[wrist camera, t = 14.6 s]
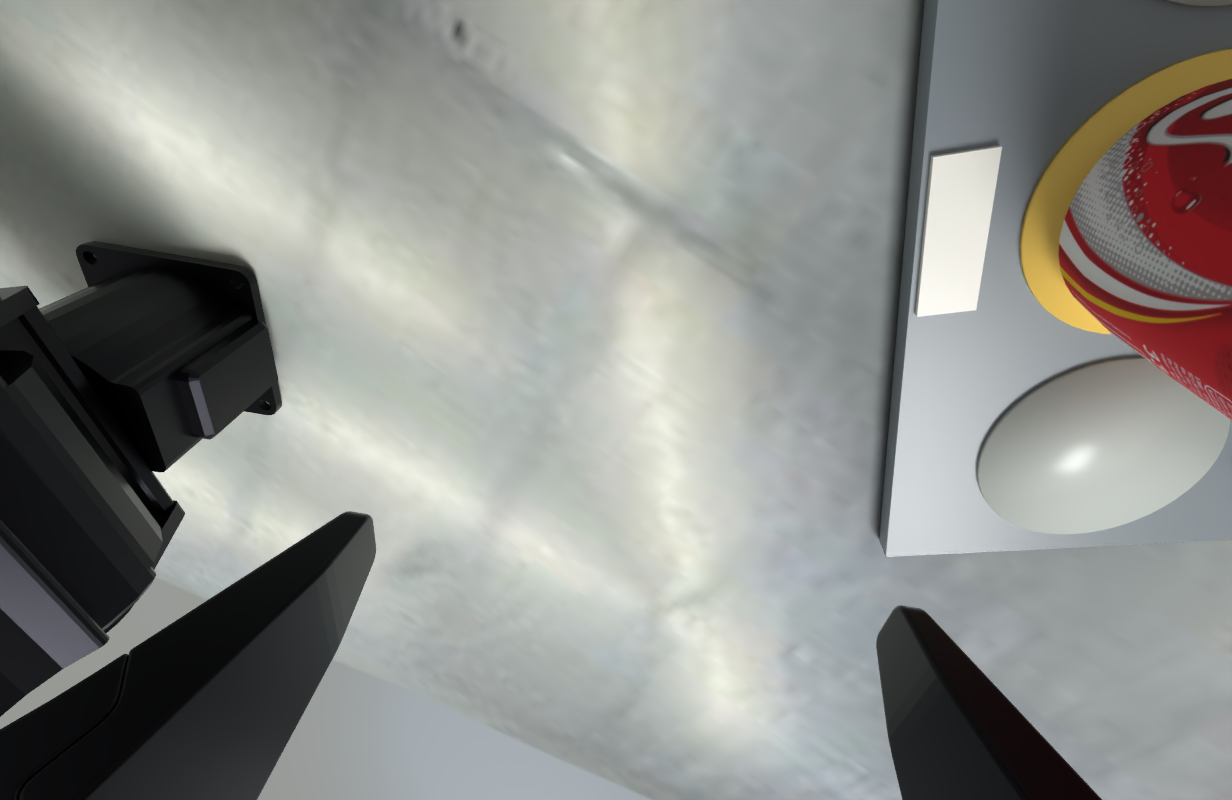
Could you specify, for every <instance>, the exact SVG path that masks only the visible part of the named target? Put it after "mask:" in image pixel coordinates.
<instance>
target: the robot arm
mask: <svg viewBox="0 0 1232 800" xmlns="http://www.w3.org/2000/svg"><path fill="white" fill-rule="evenodd" d="M76 254H77V258H78V260H79V263H80V266H81V268H82V271H83V274H84V276H85V279H86V282H87V284H88V288H85V289H83V290H81V291H79V292H76V293H74V294H72V295H70V296H67V297H65V298H63V299H61V300H58V301H56V302H54V303H51V304H49V305H47V306H45V307H42V308H40V309H38V307H37V305H39V302H38V301H37V299H36V298H35V296H34V295H33V293H32V292H31V291H30V289H29V288H28V286H19V287H10V288H0V717H1V716H2V715H3V714H4V713H5V712H6V711H8V710H9V709H10V708H11V707H12V706H14V705H15V704H16V703H17V702H18V701H19V700H21V699H22V698H23V697H24V696H25V695H27V694H28V693H30V692H31V691H32V690H34V689H35V688H37V687H38V686H39V685H41V684H42V683H44V682H45V681H46V680H48V679H49V678H51V677H52V676H53V675H55V674H56V673H57V672H59V671H61V670H62V669H64V668H65V667H67V666H69V665H71V664H72V663H74V662H76V661H78V660H79V659H81V658H83V657H85V656H86V655H88V654H90V653H91V652H93V651H95V650H97V649H99V648H100V647H102V646H103V645H105V644H106V643H107V642H108V640H109V636H108V635H107V634H106V633H107V632H108V631H109V630H110V629H112V628H113V627H114V626H115V625H116V624H118V623H119V622H120V620H121V619H122V618H123V617H124V616H125V615H126V614H127V613H128V612H129V611H130V610H131V608H132V607H133V605H134V604H135V603H136V602H137V601H138V600H139V598H140V597H141V596H142V595H143V594H144V592H145V591H146V590H147V589H148V587H150V585H151V584H152V582H153V580H154V578H155V576H156V572H155V571H154V569H155V567H156V565H157V564H158V562H159V560H160V558H161V556H162V555H163V553H164V551H165V549H166V547H167V546H168V544H169V542H170V540H171V539H172V537H173V535H174V533H175V531H176V530H177V528H178V526H179V524H180V522H181V521H182V519H183V517H184V515H185V512H184V511H183V509H182V508H181V506H180V505H179V504H178V502H177V501H173V500H172V499H171V498H170V496H169V495H168V493H167V492H166V490H165V489H164V488H163V486H162V485H161V483H160V482H159V480H158V479H157V478H156V476H155V475H154V473H153V472H152V471H155V472H164V471H165V470H167V469H168V468H169V467H170V466H171V465H172V464H174V463H175V462H176V461H177V460H178V459H179V458H181V457H182V456H183V455H184V454H185V453H186V452H187V451H189V450H190V449H191V448H192V447H193V446H194V445H196V444H197V443H198V442H199V441H200V440H201V439H203V438H204V439H212V438H213V437H215V436H216V435H217V434H218V433H219V432H220V431H222V430H223V429H224V428H225V427H226V426H227V425H228V424H230V423H231V422H232V421H233V420H234V419H235V418H236V417H237V416H239V415H240V414H241V413H242V412H243V411H246V412H252V413H258V414H264V415H272V414H275V413H276V412H277V411H278V410H279V409H280V408H281V406H282V401H281V396H280V391H279V386H278V376H277V371H276V367H275V362H274V357H273V352H272V347H271V342H270V337H269V333H268V329H267V327H266V323H265V318H264V313H263V309H262V304H261V299H260V294H259V289H258V284H257V280H256V278H255V276H254V274H253V273H252V272H251V271H250V270H248V269H247V268H245V267H242V266H237V265H231V264H225V263H219V262H213V261H207V260H202V259H196V258H190V257H184V256H178V255H172V254H166V253H160V252H154V251H148V250H142V249H136V248H131V247H125V246H119V245H113V244H107V243H101V242H95V241H92V242H87V243H84V244H82V245H80V246H78V247H77V249H76ZM93 254H94V255H95V257H96V258H97V259H96V258H95V257H94V255H93ZM237 277H239V278H240V279H241V280H242V281H243V283H244V285H243V284H241V283H240V282H239V281H238V279H237ZM265 401H267V402H268V403H269V404H270V405H269V404H268V403H266V402H265ZM375 554H376V543H375V534H374V526H373V520H372V518H371V516H370V515H368V514H363V513H357V512H350V511H349V512H345V513H342V514H341V515H339V516H338V517H336V518H335V519H333V520H331V521H330V522H328V523H327V524H325V525H324V526H322V527H321V528H319V529H317V530H316V531H314V532H313V533H311V534H310V535H308V536H307V537H305V538H304V539H302V540H300V541H299V542H297V543H296V544H294V545H293V546H291V547H290V548H288V549H286V550H285V551H283V552H282V553H280V554H279V555H277V556H276V557H274V558H273V559H271V560H269V561H268V562H266V563H265V564H263V565H262V566H260V567H259V568H257V569H255V570H254V571H252V572H251V573H249V574H248V575H246V576H245V577H243V578H242V579H240V580H238V581H237V582H235V583H234V584H232V585H231V586H229V587H228V588H226V589H224V590H223V591H221V592H220V593H218V594H217V595H215V596H214V597H212V598H211V599H209V600H207V601H206V602H204V603H203V604H201V605H200V606H198V607H197V608H195V609H193V610H192V611H190V612H189V613H187V614H186V615H184V616H183V617H181V618H179V619H178V620H176V621H175V622H173V623H172V624H170V625H169V626H167V627H166V628H164V629H162V630H161V631H159V632H158V633H156V634H155V635H153V636H152V637H150V638H148V639H147V640H146V641H144V642H142V643H141V644H139V645H138V646H136V647H135V648H133V649H132V650H131V651H130V652H129V655H128V654H124V655H122V656H120V657H119V658H117V659H116V660H114V661H113V662H111V663H109V664H108V665H106V666H105V667H103V668H102V669H100V670H99V671H97V672H95V673H94V674H92V675H91V676H89V677H87V678H86V679H84V680H83V681H81V682H79V683H78V684H76V685H75V686H73V687H71V688H70V689H68V690H66V691H65V692H63V693H62V694H60V695H58V696H57V697H55V698H54V699H52V700H50V701H49V702H47V703H45V704H43V705H42V706H40V707H38V708H37V709H35V710H33V711H31V712H30V713H28V714H26V715H24V716H23V717H21V718H19V719H17V720H16V721H14V722H12V723H11V724H9V725H7V726H5V727H4V728H2V729H0V800H257V798H258V796H259V795H260V793H261V791H262V789H263V787H264V785H265V784H266V782H267V780H268V778H269V776H270V774H271V772H272V771H273V769H274V767H275V765H276V763H277V761H278V759H279V757H280V756H281V753H282V752H283V750H284V748H285V746H286V744H287V743H288V741H289V739H290V737H291V735H292V733H293V731H294V729H295V728H296V726H297V724H298V722H299V720H300V718H301V716H302V715H303V713H304V711H305V709H306V707H307V705H308V704H309V702H310V700H311V698H312V696H313V694H314V692H315V690H316V688H317V687H318V685H319V683H320V681H321V679H322V677H323V676H324V674H325V672H326V670H327V668H328V666H329V664H330V662H331V661H332V659H333V657H334V655H335V653H336V651H337V649H338V647H339V645H340V643H341V640H342V638H343V636H344V633H345V631H346V629H347V626H348V624H349V621H350V619H351V616H352V614H353V611H354V609H355V606H356V604H357V601H358V599H359V596H360V594H361V592H362V589H363V587H364V584H365V582H366V579H367V577H368V574H369V572H370V569H371V567H372V564H373V562H374V559H375ZM876 648H877V656H878V664H879V672H880V680H881V687H882V695H883V703H884V711H885V718H886V726H887V732H888V738H889V743H890V748H891V753H892V757H893V761H894V766H895V770H896V774H897V778H898V783H899V787H900V791H901V795H902V800H1102V799H1101V798H1100V797H1099V796H1098V795H1097V794H1096V793H1095V792H1094V791H1093V790H1092V789H1091V787H1090V786H1089V785H1088V784H1087V783H1086V782H1085V781H1084V780H1083V779H1082V778H1081V777H1080V776H1079V775H1078V774H1077V772H1076V771H1075V770H1074V769H1073V768H1072V767H1071V766H1070V765H1069V764H1068V763H1067V762H1066V761H1065V760H1064V759H1063V758H1062V756H1061V755H1060V754H1059V753H1058V752H1057V751H1056V750H1055V749H1054V748H1053V747H1052V746H1051V745H1050V744H1049V743H1048V742H1047V740H1046V739H1045V738H1044V737H1043V736H1042V735H1041V734H1040V733H1039V732H1038V731H1037V730H1036V729H1035V728H1034V727H1033V726H1032V724H1031V723H1030V722H1029V721H1028V720H1027V719H1026V718H1025V717H1024V716H1023V715H1022V714H1021V713H1020V712H1019V711H1018V710H1017V708H1016V707H1015V706H1014V705H1013V704H1012V703H1011V702H1010V701H1009V700H1008V699H1007V698H1006V697H1005V696H1004V695H1003V694H1002V692H1001V691H1000V690H999V689H998V688H997V687H996V686H995V685H994V684H993V683H992V682H991V681H990V680H989V679H988V678H987V676H986V675H985V674H984V673H983V672H982V671H981V670H980V669H979V668H978V667H977V666H976V665H975V664H974V663H973V662H972V660H971V659H970V658H969V657H968V656H967V655H966V654H965V653H964V652H963V651H962V650H961V649H960V648H959V647H958V646H957V644H956V643H955V642H954V641H953V640H952V639H951V638H950V637H949V636H948V635H947V634H946V633H945V632H944V631H943V629H942V628H941V627H940V626H939V625H938V624H937V623H936V622H935V621H934V620H933V619H932V618H931V617H930V616H929V615H928V614H927V613H926V612H925V611H924V610H922V609H919V608H914V607H908V606H897V607H896V608H894V610H893V611H892V613H891V614H890V616H889V618H888V619H887V621H886V622H885V624H884V625H883V627H882V629H881V630H880V632H879V634H878V637H877V642H876Z"/></svg>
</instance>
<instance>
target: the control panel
mask: <svg viewBox="0 0 1232 800" xmlns="http://www.w3.org/2000/svg"><path fill="white" fill-rule="evenodd" d="M1229 79H1232V0H925V2H924V14H923V25H922V37H921V49H920V61H919V73H918V85H917V97H916V109H915V121H914V133H913V145H912V156H911V168H910V180H909V192H908V204H907V216H906V228H905V240H904V252H903V264H902V276H901V287H900V299H899V311H898V323H897V335H896V347H895V359H894V371H893V383H892V395H891V407H890V418H889V430H888V442H887V454H886V466H885V478H884V490H883V502H882V514H881V526H880V538H879V540H880V543H881V546H882V548H883V551H884V553H885V556H886V557H893V556H913V555H934V554H954V553H974V552H995V551H1015V550H1035V549H1055V548H1076V547H1096V546H1116V545H1137V544H1157V543H1177V542H1198V541H1218V540H1232V420H1231V419H1229V418H1228V417H1226V416H1225V415H1224V414H1222V413H1221V412H1219V411H1218V410H1216V409H1215V408H1214V407H1212V406H1211V405H1209V404H1208V403H1206V402H1205V401H1204V400H1202V399H1201V398H1199V397H1198V396H1197V395H1195V394H1194V393H1192V392H1191V391H1190V390H1188V389H1187V388H1185V387H1184V386H1183V385H1181V384H1180V383H1178V382H1177V381H1176V380H1174V379H1173V378H1171V377H1170V376H1169V375H1167V374H1166V373H1164V372H1163V371H1162V370H1160V369H1159V368H1158V367H1156V366H1155V365H1153V364H1152V363H1151V362H1149V361H1148V360H1146V359H1145V358H1144V357H1142V356H1141V355H1140V354H1138V353H1137V352H1136V351H1134V350H1133V349H1131V348H1130V347H1129V346H1127V345H1126V344H1125V343H1123V342H1122V341H1121V340H1119V339H1118V338H1117V337H1115V336H1114V335H1113V334H1111V333H1110V332H1109V331H1108V330H1107V329H1106V328H1105V327H1104V326H1103V325H1102V324H1101V323H1100V322H1099V321H1098V320H1097V319H1096V318H1095V317H1094V316H1093V315H1092V314H1091V313H1090V312H1089V311H1088V310H1086V309H1085V308H1084V307H1083V306H1082V305H1081V304H1080V303H1079V302H1078V301H1077V300H1076V299H1075V298H1074V297H1073V295H1072V294H1071V292H1070V291H1069V289H1068V288H1067V286H1066V285H1065V282H1064V279H1063V276H1062V273H1061V271H1060V263H1059V240H1060V234H1061V230H1062V226H1063V222H1064V219H1065V216H1066V214H1067V211H1068V209H1069V206H1070V204H1071V201H1072V199H1073V198H1074V196H1075V194H1076V192H1077V191H1078V189H1079V187H1080V185H1081V184H1082V182H1083V180H1084V179H1085V178H1086V176H1087V175H1088V174H1089V172H1090V171H1091V170H1092V168H1093V167H1094V166H1095V164H1096V163H1097V162H1098V161H1099V160H1100V158H1101V157H1102V156H1103V155H1104V154H1105V153H1106V152H1107V151H1108V150H1109V149H1110V148H1111V147H1112V146H1113V144H1114V143H1115V142H1117V141H1118V140H1119V139H1120V138H1121V137H1122V136H1124V135H1125V134H1126V133H1127V132H1128V131H1129V130H1130V129H1132V128H1133V127H1134V126H1135V125H1136V124H1138V123H1139V122H1141V121H1142V120H1144V119H1145V118H1146V117H1148V116H1149V115H1151V114H1152V113H1154V112H1155V111H1156V110H1158V109H1160V108H1162V107H1163V106H1165V105H1167V104H1169V103H1170V102H1172V101H1174V100H1176V99H1178V98H1179V97H1181V96H1184V95H1186V94H1188V93H1191V92H1193V91H1195V90H1198V89H1200V88H1203V87H1205V86H1208V85H1211V84H1215V83H1218V82H1222V81H1225V80H1229Z"/></svg>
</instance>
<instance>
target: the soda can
mask: <svg viewBox="0 0 1232 800" xmlns="http://www.w3.org/2000/svg"><path fill="white" fill-rule="evenodd" d="M1059 263H1060V271H1061V273H1062V276H1063V279H1064V282H1065V285H1066V286H1067V288H1068V289H1069V291H1070V292H1071V294H1072V295H1073V297H1074V298H1075V299H1076V300H1077V301H1078V302H1079V303H1080V304H1081V305H1082V306H1083V307H1084V308H1085V309H1086V310H1088V311H1089V312H1090V313H1091V314H1092V315H1093V316H1094V317H1095V318H1096V319H1097V320H1098V321H1099V322H1100V323H1101V324H1102V325H1103V326H1104V327H1105V328H1106V329H1107V330H1108V331H1109V332H1110V333H1111V334H1113V335H1114V336H1115V337H1117V338H1118V339H1119V340H1121V341H1122V342H1123V343H1125V344H1126V345H1127V346H1129V347H1130V348H1131V349H1133V350H1134V351H1136V352H1137V353H1138V354H1140V355H1141V356H1142V357H1144V358H1145V359H1146V360H1148V361H1149V362H1151V363H1152V364H1153V365H1155V366H1156V367H1158V368H1159V369H1160V370H1162V371H1163V372H1164V373H1166V374H1167V375H1169V376H1170V377H1171V378H1173V379H1174V380H1176V381H1177V382H1178V383H1180V384H1181V385H1183V386H1184V387H1185V388H1187V389H1188V390H1190V391H1191V392H1192V393H1194V394H1195V395H1197V396H1198V397H1199V398H1201V399H1202V400H1204V401H1205V402H1206V403H1208V404H1209V405H1211V406H1212V407H1214V408H1215V409H1216V410H1218V411H1219V412H1221V413H1222V414H1224V415H1225V416H1226V417H1228V418H1229V419H1231V420H1232V79H1229V80H1225V81H1222V82H1218V83H1215V84H1211V85H1208V86H1205V87H1203V88H1200V89H1198V90H1195V91H1193V92H1191V93H1188V94H1186V95H1184V96H1181V97H1179V98H1178V99H1176V100H1174V101H1172V102H1170V103H1169V104H1167V105H1165V106H1163V107H1162V108H1160V109H1158V110H1156V111H1155V112H1154V113H1152V114H1151V115H1149V116H1148V117H1146V118H1145V119H1144V120H1142V121H1141V122H1139V123H1138V124H1136V125H1135V126H1134V127H1133V128H1132V129H1130V130H1129V131H1128V132H1127V133H1126V134H1125V135H1124V136H1122V137H1121V138H1120V139H1119V140H1118V141H1117V142H1115V143H1114V144H1113V146H1112V147H1111V148H1110V149H1109V150H1108V151H1107V152H1106V153H1105V154H1104V155H1103V156H1102V157H1101V158H1100V160H1099V161H1098V162H1097V163H1096V164H1095V166H1094V167H1093V168H1092V170H1091V171H1090V172H1089V174H1088V175H1087V176H1086V178H1085V179H1084V180H1083V182H1082V184H1081V185H1080V187H1079V189H1078V191H1077V192H1076V194H1075V196H1074V198H1073V199H1072V201H1071V204H1070V206H1069V209H1068V211H1067V214H1066V216H1065V219H1064V222H1063V226H1062V230H1061V234H1060V240H1059Z"/></svg>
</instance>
